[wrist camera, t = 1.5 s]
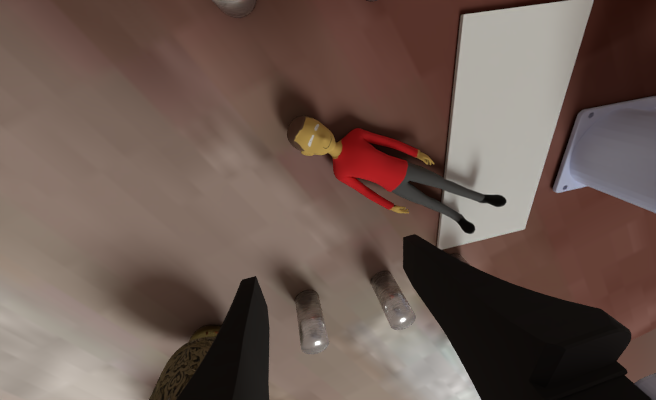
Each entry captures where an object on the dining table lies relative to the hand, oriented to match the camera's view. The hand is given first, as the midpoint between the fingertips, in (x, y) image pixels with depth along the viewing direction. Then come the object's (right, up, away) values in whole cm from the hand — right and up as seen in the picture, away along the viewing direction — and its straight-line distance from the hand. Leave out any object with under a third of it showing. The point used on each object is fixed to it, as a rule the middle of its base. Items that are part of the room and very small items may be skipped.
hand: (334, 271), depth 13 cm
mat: (+14, +8, +10) cm, 20 cm away
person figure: (+5, +6, +9) cm, 12 cm away
